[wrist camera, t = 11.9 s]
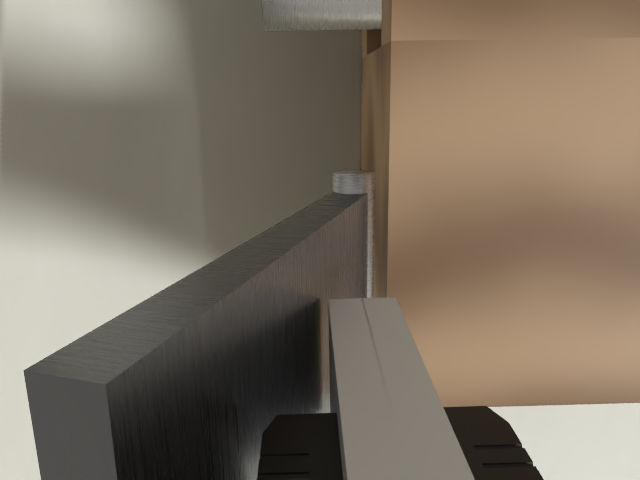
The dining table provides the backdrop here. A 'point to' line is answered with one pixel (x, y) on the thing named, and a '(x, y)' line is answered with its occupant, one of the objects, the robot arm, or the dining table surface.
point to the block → (509, 193)
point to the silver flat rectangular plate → (209, 354)
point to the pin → (321, 14)
